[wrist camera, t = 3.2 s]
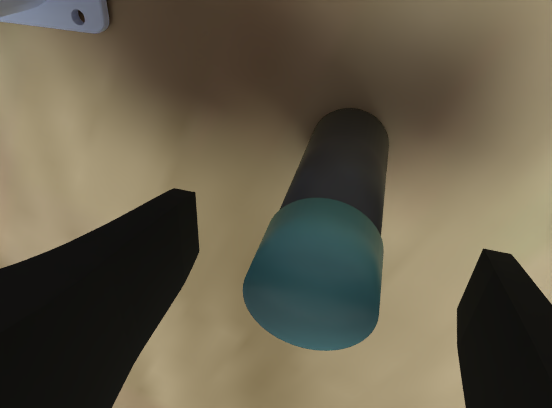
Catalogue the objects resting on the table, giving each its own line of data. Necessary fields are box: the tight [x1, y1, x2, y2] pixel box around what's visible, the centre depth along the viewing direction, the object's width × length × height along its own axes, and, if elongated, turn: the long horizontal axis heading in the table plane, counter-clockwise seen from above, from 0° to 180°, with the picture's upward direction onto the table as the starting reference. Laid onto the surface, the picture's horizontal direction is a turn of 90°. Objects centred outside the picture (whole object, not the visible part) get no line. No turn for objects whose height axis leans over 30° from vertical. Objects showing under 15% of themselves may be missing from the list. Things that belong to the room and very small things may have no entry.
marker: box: [243, 108, 389, 351], centre depth 12 cm, size 3×3×8 cm
